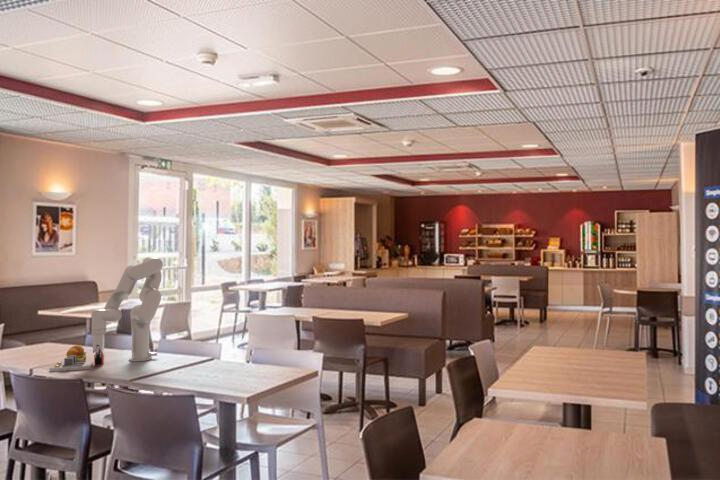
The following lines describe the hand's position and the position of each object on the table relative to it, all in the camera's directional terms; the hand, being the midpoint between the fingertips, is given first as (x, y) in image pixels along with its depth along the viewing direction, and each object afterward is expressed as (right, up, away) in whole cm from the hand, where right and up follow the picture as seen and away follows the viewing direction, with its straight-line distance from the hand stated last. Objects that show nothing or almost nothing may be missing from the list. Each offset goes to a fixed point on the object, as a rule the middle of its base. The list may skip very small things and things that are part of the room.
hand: (99, 363), depth 340 cm
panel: (-11, -1, -8) cm, 14 cm away
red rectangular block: (0, -1, 0) cm, 1 cm away
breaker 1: (-11, +1, -12) cm, 16 cm away
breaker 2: (-13, +1, -6) cm, 14 cm away
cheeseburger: (-17, -1, +10) cm, 20 cm away
